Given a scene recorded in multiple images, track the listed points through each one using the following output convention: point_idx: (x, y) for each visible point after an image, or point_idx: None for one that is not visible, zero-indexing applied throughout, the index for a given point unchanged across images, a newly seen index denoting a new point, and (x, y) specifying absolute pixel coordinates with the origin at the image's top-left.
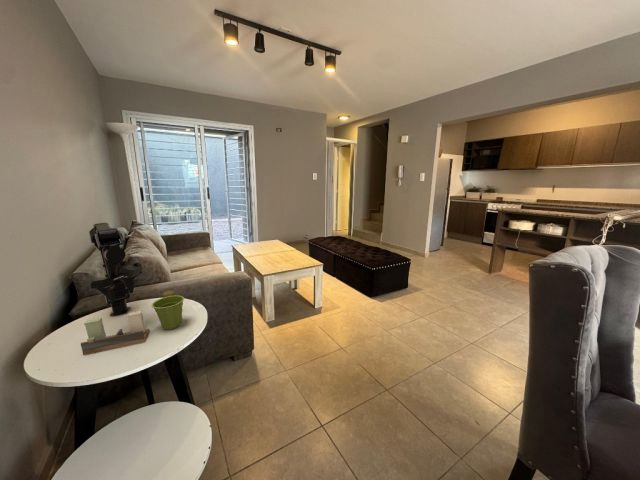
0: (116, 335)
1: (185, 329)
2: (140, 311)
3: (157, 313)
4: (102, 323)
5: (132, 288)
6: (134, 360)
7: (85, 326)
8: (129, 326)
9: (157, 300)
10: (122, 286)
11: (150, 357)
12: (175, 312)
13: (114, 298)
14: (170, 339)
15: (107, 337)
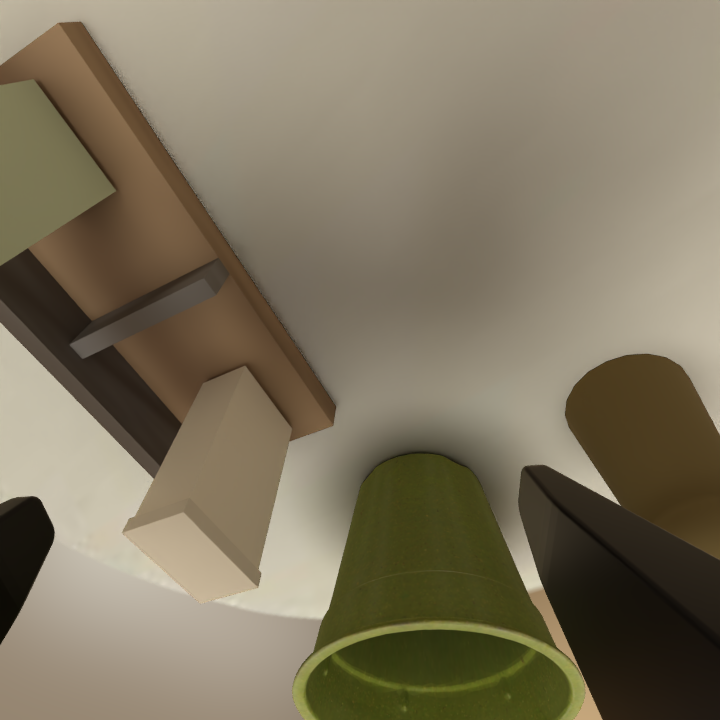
0: (116, 333)
1: None
2: (239, 586)
3: (337, 595)
4: (9, 258)
5: (557, 618)
6: (67, 499)
7: None
8: (174, 441)
9: (468, 630)
10: None
11: (115, 546)
12: (382, 658)
13: (20, 599)
14: (269, 553)
15: (136, 177)
